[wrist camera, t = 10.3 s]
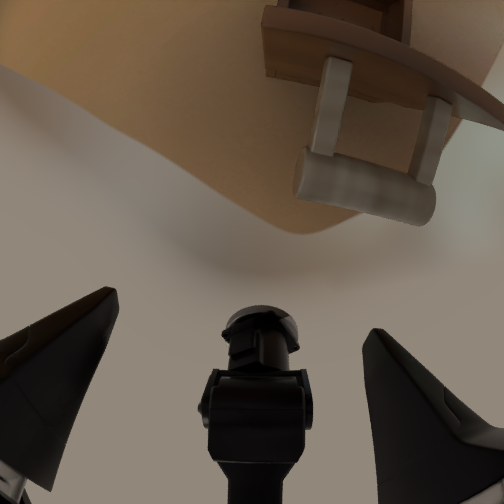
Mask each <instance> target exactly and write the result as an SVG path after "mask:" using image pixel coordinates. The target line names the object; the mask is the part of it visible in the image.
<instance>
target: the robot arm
mask: <svg viewBox="0 0 504 504" xmlns="http://www.w3.org/2000/svg"><path fill="white" fill-rule="evenodd" d="M118 313H119V303H118V296H117V291H116V289H115V288H111V287H106V286H105V287H103V288H101V289H99V290H97V291H95V292H93V293H91V294H89V295H87V296H85V297H83V298H81V299H79V300H77V301H75V302H73V303H71V304H69V305H67V306H65V307H64V308H61V309H60V310H58V311H56V312H54V313H52V314H50V315H48V316H47V317H44V318H43V319H41V320H39V321H37V322H35V323H33V324H31V325H30V327H29V326H27V327H26V328H24V329H22V330H20V331H18V332H16V333H14V334H12V335H10V336H9V337H6V338H5V339H2V340H0V504H31V502H30V500H29V497H28V495H27V493H26V490H25V488H24V487H25V484H26V482H27V479H29V480H31V481H32V482H34V483H35V484H37V485H39V486H40V487H42V488H44V489H46V490H48V491H49V492H51V490H52V487H53V484H54V480H55V477H56V474H57V470H58V467H59V464H60V461H61V458H62V455H63V452H64V449H65V446H66V443H67V440H68V437H69V435H70V432H71V429H72V427H73V424H74V421H75V419H76V416H77V414H78V411H79V409H80V406H81V404H82V401H83V399H84V396H85V394H86V392H87V389H88V387H89V385H90V382H91V380H92V378H93V375H94V373H95V371H96V369H97V367H98V364H99V362H100V360H101V358H102V356H103V354H104V351H105V349H106V346H107V344H108V341H109V338H110V335H111V332H112V329H113V327H114V324H115V321H116V319H117V316H118ZM269 315H272V316H269ZM226 334H228V335H226ZM221 336H222V337H223V338H224V340H225V341H226V342H227V343H228V344H229V352H228V355H229V356H230V358H229V364H228V370H219V369H213V371H212V374H211V375H210V377H209V379H208V382H207V385H206V388H205V390H204V393H203V396H202V399H201V402H200V403H199V405H198V412H199V413H200V414H201V415H202V420H203V425H204V427H205V428H207V429H208V451H209V453H210V455H211V457H212V459H213V460H214V461H217V463H218V464H219V466H220V468H221V469H222V471H223V472H224V474H225V475H226V477H227V478H228V504H282V490H283V480H284V478H285V477H286V476H287V474H288V473H289V471H290V470H291V468H292V467H293V466H294V464H295V463H297V462H298V460H299V458H300V457H301V455H302V453H303V451H304V448H305V430H310V429H311V427H312V422H313V399H312V393H311V388H310V384H309V380H308V375H307V371H306V369H301V370H292V371H291V370H289V356H288V354H290V353H293V352H295V351H297V350H299V348H300V346H299V343H298V342H297V341H296V339H295V338H294V337H293V335H292V334H291V333H290V331H289V330H288V329H287V327H286V326H285V325H284V323H283V322H282V321H281V319H280V318H279V317H278V315H277V314H276V313H275V312H274V311H272V310H269V311H267V312H265V313H262V314H260V315H258V316H255V317H253V318H250V319H248V320H245V321H243V322H241V323H238V324H236V325H234V326H232V327H230V328H227V329H225V330H223V331H222V334H221ZM362 354H363V365H364V380H365V389H366V395H367V402H368V408H369V415H370V422H371V429H372V437H373V445H374V454H375V464H376V475H377V485H378V486H377V488H378V489H377V490H378V504H504V428H497V427H494V426H492V425H490V424H488V423H487V422H486V421H484V420H483V419H482V418H481V417H480V416H478V415H477V414H476V413H475V412H474V411H472V410H471V409H470V408H468V407H467V406H466V405H465V404H464V403H463V402H461V401H460V400H459V399H458V398H457V397H456V396H455V395H454V394H453V393H452V392H451V391H450V390H449V389H447V388H446V387H444V385H443V384H442V383H441V382H440V381H439V380H438V379H437V378H436V377H435V376H434V375H433V374H432V373H431V372H429V371H428V370H427V369H426V368H425V367H424V366H423V365H422V364H421V363H420V362H419V361H418V360H417V359H415V358H414V357H413V356H412V355H411V354H410V353H409V352H408V351H407V350H406V349H405V348H403V347H402V346H401V345H400V344H399V343H398V342H397V341H396V340H395V339H393V337H391V336H390V335H389V334H388V333H387V332H386V331H384V330H383V329H378V328H373V329H372V330H371V331H370V333H369V335H368V337H367V339H366V340H365V342H364V344H363V348H362Z"/></svg>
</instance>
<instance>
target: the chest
mask: <svg viewBox="0 0 504 504" xmlns="http://www.w3.org/2000/svg"><path fill="white" fill-rule="evenodd" d="M412 5H413V0H278V4H277V7H283V8H289V9H294V10H299V11H304V12H309V13H313V14H317V15H321V16H325V17H329V18H333V19H336V20H340V21H343V22H347V23H350V24H353V25H356V26H359V27H362V28H365V29H368V30H371V31H373V32H376V33H379V34H381V35H384V36H386V37H389V38H391V39H394V40H396V41H398V42H401V43H403V44H405V45H407V46H409V45H410V35H411V22H412ZM266 76H267V77H272V78H278V79H283V80H289V81H294V82H299V83H303V84H308V85H312V86H316V87H320V83H321V80H318V79H314V78H310V77H305V76H301V75H296V74H291V73H286V72H280V71H275V70H269V69H266ZM347 95H350V96H353V97H356V98H360V99H363V100H366V101H369V102H372V103H381V102H389V101H387V100H384V99H381V98H378V97H376V96H373V95H370V94H367V93H364V92H361V91H357V90H354V89H351V88H348V93H347Z"/></svg>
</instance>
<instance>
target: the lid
mask: <svg viewBox="0 0 504 504" xmlns="http://www.w3.org/2000/svg"><path fill="white" fill-rule="evenodd" d="M261 28H262V38H263V48H264V59H265V69H269V70H275V71H280V72H286V73H291V74H296V75H301V76H305V77H310V78H314V79H318V80H321V83H320V88H319V93H318V98H317V103H316V108H315V113H314V118H313V123H312V128H311V132H310V137H309V142H308V146H304V147H303V148H302V149H301V151H300V153H299V156H298V160H297V164H296V169H295V174H294V182H293V194H294V197H295V198H297V199H302V200H307V201H312V202H317V203H322V204H327V205H331V206H336V207H341V208H345V209H350V210H354V211H359V212H363V213H367V214H372V215H376V216H380V217H384V218H388V219H392V220H396V221H400V222H404V223H408V224H411V225H415V226H423V225H425V224H426V223H427V222H428V221H429V220H430V219H431V217H432V215H433V213H434V210H435V205H436V193H435V189H434V187H433V185H432V182H433V179H434V176H435V173H436V170H437V166H438V163H439V160H440V156H441V153H442V149H443V145H444V142H445V138H446V134H447V130H448V126H449V121H450V117H451V116H454V117H458V118H462V119H466V120H470V121H473V122H477V123H481V124H484V125H487V126H491V127H494V128H497V129H500V130H503V131H504V104H503V103H502V102H500V101H499V100H498V99H496V98H495V97H494V96H492V95H491V94H490V93H488V92H487V91H485V90H484V89H483V88H481V87H480V86H478V85H477V84H475V83H474V82H472V81H471V80H469V79H468V78H466V77H465V76H463V75H462V74H460V73H458V72H457V71H455V70H453V69H452V68H450V67H448V66H446V65H445V64H443V63H441V62H439V61H437V60H436V59H434V58H432V57H430V56H428V55H426V54H424V53H422V52H420V51H418V50H416V49H414V48H412V47H410V46H407V45H405V44H403V43H401V42H398V41H396V40H394V39H391V38H389V37H386V36H384V35H381V34H379V33H376V32H373V31H371V30H368V29H365V28H362V27H359V26H356V25H353V24H350V23H347V22H343V21H340V20H336V19H333V18H329V17H325V16H321V15H317V14H313V13H309V12H304V11H299V10H294V9H289V8H283V7H277V6H270V5H267V6H265V8H264V12H263V18H262V23H261ZM348 88H351V89H354V90H357V91H361V92H364V93H367V94H370V95H373V96H376V97H378V98H381V99H384V100H387V101H389V102H392V103H395V104H397V105H400V106H402V107H408V108H414V109H420V110H424V113H423V117H422V122H421V126H420V130H419V134H418V138H417V142H416V145H415V149H414V153H413V156H412V160H411V163H410V167H409V170H408V173H404V172H401V171H398V170H394V169H391V168H388V167H385V166H382V165H378V164H375V163H372V162H368V161H365V160H361V159H358V158H354V157H350V156H346V155H342V154H339V153H334V152H335V147H336V143H337V139H338V135H339V130H340V126H341V121H342V117H343V112H344V108H345V103H346V98H347V93H348Z"/></svg>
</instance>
